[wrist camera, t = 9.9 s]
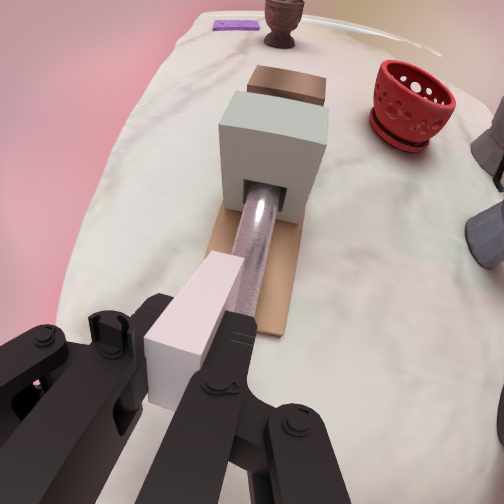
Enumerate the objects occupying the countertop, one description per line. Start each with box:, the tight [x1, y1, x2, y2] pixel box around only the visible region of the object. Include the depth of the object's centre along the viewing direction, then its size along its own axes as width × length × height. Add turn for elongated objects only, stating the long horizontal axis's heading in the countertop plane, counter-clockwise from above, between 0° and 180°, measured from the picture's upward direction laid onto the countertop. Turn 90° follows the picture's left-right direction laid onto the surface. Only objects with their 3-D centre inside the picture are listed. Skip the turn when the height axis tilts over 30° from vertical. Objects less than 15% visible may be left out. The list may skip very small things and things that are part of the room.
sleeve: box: [219, 91, 329, 224], centre depth 25 cm, size 8×5×12 cm, turn 78°
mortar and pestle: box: [264, 0, 304, 48], centre depth 44 cm, size 12×9×20 cm
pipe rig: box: [204, 65, 326, 337], centre depth 26 cm, size 9×26×12 cm, turn 168°
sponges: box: [213, 20, 260, 31], centre depth 57 cm, size 7×13×2 cm, turn 92°
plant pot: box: [370, 60, 456, 152], centre depth 35 cm, size 13×13×12 cm
